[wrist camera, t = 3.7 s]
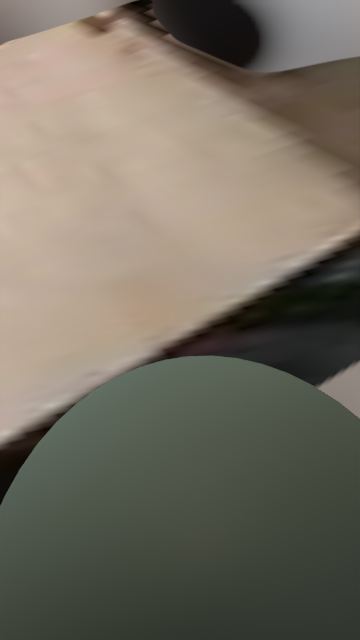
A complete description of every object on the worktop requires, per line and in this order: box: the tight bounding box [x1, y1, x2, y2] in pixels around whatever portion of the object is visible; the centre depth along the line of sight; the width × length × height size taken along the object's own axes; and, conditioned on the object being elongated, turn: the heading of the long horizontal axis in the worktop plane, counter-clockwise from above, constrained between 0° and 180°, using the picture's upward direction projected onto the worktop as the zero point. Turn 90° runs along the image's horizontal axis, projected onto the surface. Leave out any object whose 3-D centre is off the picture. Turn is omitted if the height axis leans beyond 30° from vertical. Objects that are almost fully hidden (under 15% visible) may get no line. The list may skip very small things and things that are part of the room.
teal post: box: [0, 356, 360, 640], centre depth 8 cm, size 4×4×13 cm
